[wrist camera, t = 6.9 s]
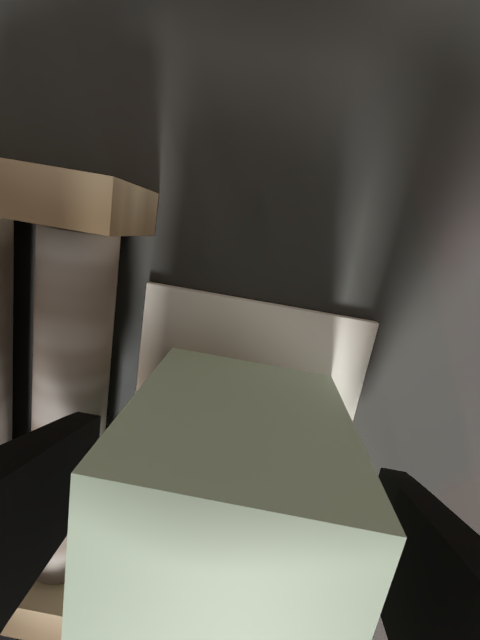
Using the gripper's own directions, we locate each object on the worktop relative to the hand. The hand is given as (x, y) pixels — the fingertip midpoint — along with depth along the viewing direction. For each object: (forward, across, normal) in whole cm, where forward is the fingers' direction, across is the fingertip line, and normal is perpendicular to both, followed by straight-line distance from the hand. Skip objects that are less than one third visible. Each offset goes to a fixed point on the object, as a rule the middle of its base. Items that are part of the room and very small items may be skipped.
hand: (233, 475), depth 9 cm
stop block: (+3, 0, +1) cm, 3 cm away
